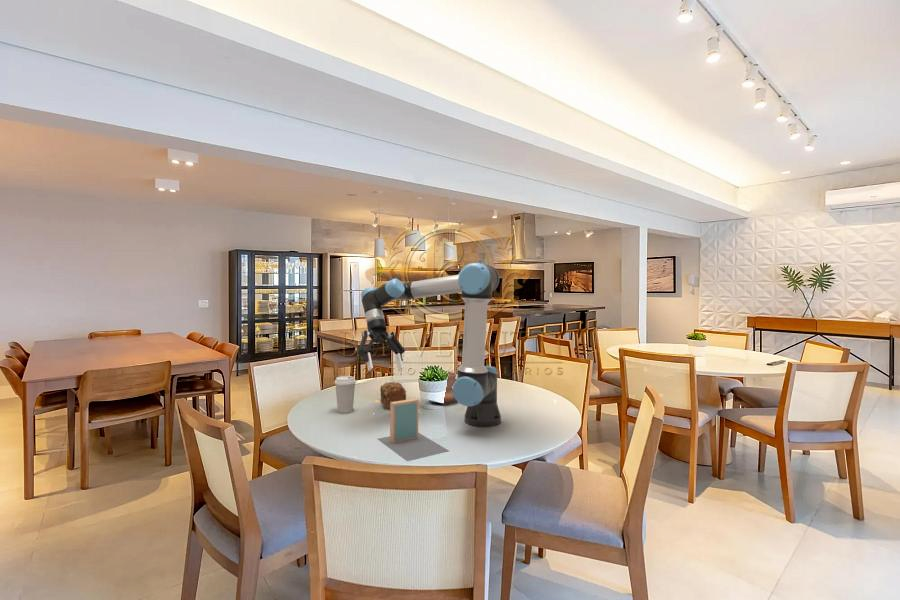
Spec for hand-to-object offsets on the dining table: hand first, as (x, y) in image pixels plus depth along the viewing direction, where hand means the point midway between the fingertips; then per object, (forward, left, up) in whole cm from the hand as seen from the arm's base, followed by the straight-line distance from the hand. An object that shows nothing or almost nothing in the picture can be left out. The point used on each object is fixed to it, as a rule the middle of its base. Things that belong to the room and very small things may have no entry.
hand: (386, 369), depth 168 cm
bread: (-3, -36, -24) cm, 43 cm away
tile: (-7, +14, -23) cm, 28 cm away
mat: (-9, +20, -23) cm, 32 cm away
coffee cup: (+18, -27, -24) cm, 40 cm away
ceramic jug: (-28, -37, -24) cm, 52 cm away
